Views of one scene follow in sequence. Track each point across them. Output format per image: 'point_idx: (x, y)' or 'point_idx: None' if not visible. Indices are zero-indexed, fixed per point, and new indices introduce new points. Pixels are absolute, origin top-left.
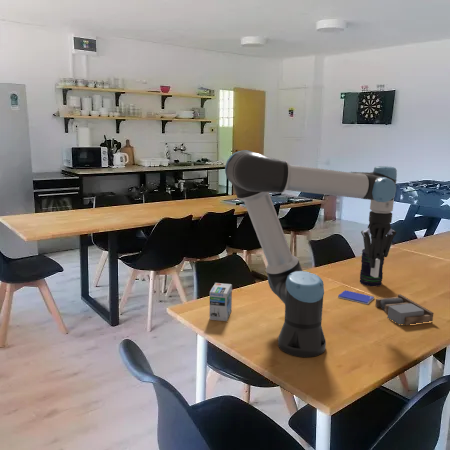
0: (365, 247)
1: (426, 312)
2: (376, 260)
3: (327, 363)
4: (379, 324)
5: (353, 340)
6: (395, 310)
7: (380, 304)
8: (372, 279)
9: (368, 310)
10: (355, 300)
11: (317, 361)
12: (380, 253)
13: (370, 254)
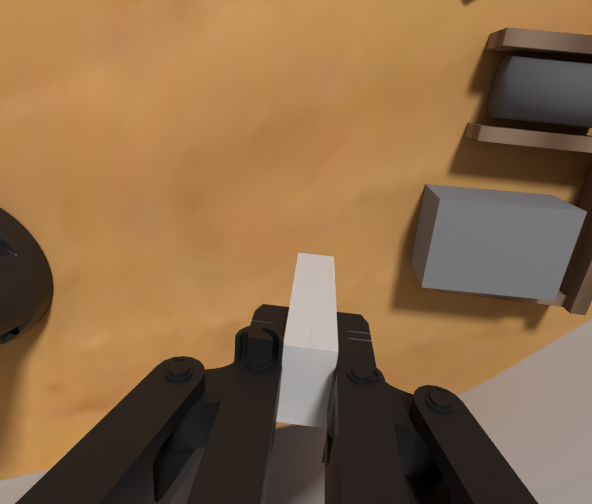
0: (55, 495)
1: (575, 284)
2: (277, 416)
3: (28, 369)
4: (340, 226)
5: (164, 294)
6: (428, 251)
7: (504, 61)
8: None
9: (408, 75)
10: None
11: (4, 352)
12: (325, 498)
13: (164, 468)
